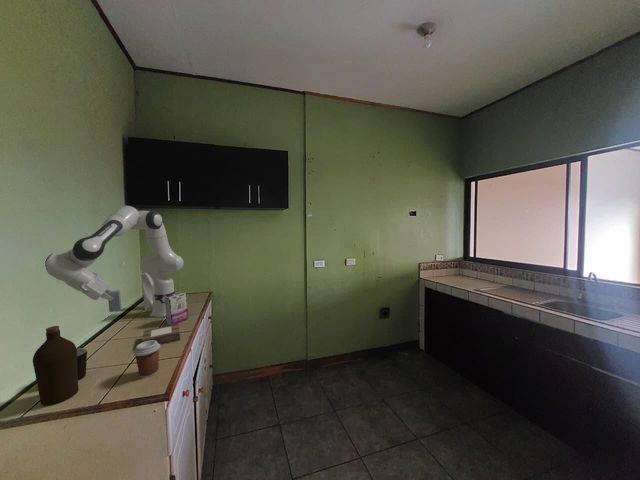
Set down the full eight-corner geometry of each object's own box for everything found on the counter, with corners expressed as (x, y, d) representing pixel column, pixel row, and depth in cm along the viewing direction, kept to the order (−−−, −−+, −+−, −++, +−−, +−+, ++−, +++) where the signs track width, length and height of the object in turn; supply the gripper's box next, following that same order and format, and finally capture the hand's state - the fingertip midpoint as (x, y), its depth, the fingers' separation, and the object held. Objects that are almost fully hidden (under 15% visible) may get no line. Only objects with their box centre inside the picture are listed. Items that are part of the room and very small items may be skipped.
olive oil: (60, 406, 84) (52, 333, 83) (28, 408, 84) (18, 335, 82) (89, 386, 95) (82, 320, 93) (60, 387, 95) (52, 322, 93)
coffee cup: (129, 380, 98) (126, 350, 97) (146, 366, 107) (144, 338, 106) (152, 380, 97) (149, 349, 96) (167, 366, 106) (165, 338, 106)
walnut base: (144, 338, 134) (143, 330, 134) (179, 330, 142) (178, 323, 142) (142, 349, 122) (141, 340, 122) (180, 340, 131) (179, 332, 130)
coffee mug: (95, 373, 103) (92, 349, 102) (68, 386, 95) (66, 361, 94) (75, 369, 107) (72, 346, 106) (48, 382, 98) (45, 357, 98)
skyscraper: (141, 310, 179) (138, 271, 177) (144, 307, 186) (141, 269, 184) (155, 308, 182) (152, 270, 180) (158, 305, 189) (155, 268, 187)
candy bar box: (183, 317, 162) (181, 292, 161) (188, 318, 160) (186, 293, 159) (166, 324, 152) (164, 297, 151) (171, 325, 150) (169, 298, 149)
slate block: (111, 309, 123) (109, 291, 122) (121, 308, 125) (119, 290, 124) (109, 312, 119) (107, 293, 119) (120, 310, 121) (118, 291, 121)
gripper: (83, 279, 108) (115, 297, 113) (95, 272, 125) (122, 288, 131) (70, 291, 106) (103, 309, 112) (84, 282, 123) (111, 298, 129)
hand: (113, 298), depth 121 cm, fingers closed on slate block, 4 cm apart
